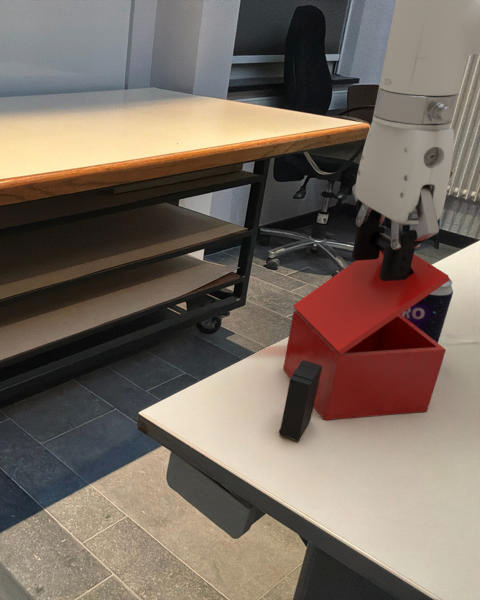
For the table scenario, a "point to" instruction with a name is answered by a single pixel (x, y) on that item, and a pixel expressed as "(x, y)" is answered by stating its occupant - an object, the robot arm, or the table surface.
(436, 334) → the beverage can
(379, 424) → the table surface
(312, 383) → the ink cartridge
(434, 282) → the red box lid
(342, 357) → the red box
